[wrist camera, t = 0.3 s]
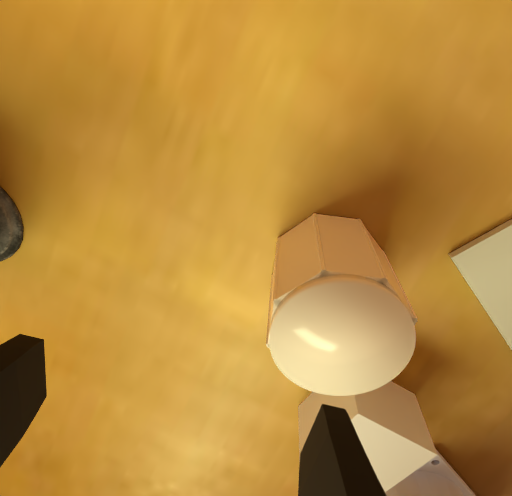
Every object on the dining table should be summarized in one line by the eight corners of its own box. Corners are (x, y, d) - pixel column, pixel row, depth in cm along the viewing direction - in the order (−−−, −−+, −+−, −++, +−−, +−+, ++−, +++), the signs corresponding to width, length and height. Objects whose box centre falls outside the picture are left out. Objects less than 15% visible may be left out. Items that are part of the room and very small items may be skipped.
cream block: (414, 392, 22) (437, 454, 19) (361, 436, 25) (373, 500, 21) (346, 355, 22) (358, 413, 18) (298, 404, 24) (299, 465, 20)
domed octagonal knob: (400, 273, 19) (444, 358, 13) (313, 322, 21) (322, 414, 15) (341, 193, 17) (365, 253, 12) (252, 254, 19) (238, 330, 14)
